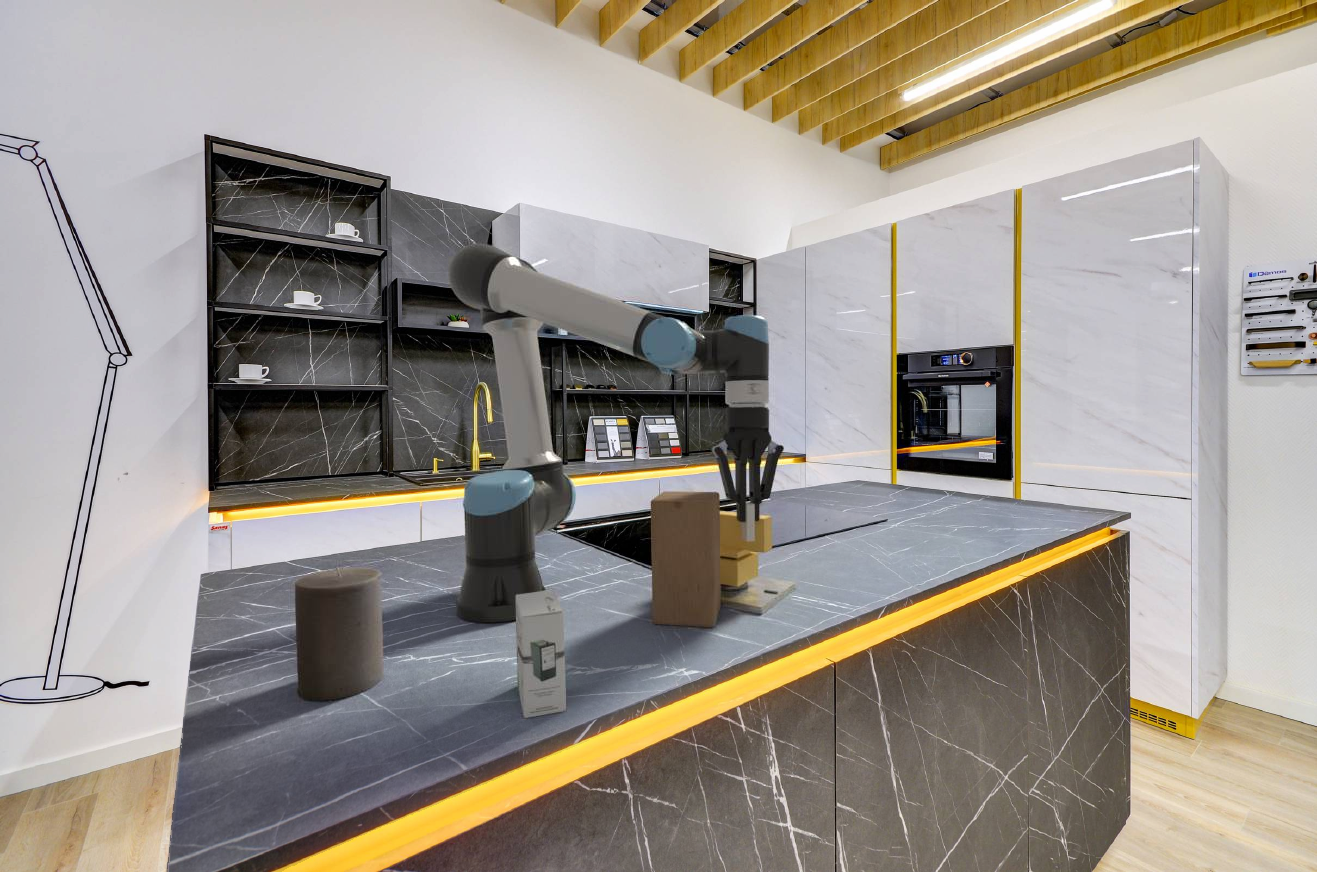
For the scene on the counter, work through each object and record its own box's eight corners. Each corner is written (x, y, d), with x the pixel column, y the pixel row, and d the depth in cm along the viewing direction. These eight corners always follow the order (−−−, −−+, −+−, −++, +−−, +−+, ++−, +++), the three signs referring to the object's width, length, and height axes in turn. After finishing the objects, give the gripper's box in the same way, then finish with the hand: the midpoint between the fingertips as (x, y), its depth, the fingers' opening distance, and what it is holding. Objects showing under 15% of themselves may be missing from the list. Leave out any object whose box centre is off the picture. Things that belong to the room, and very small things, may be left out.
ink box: (516, 685, 72) (513, 592, 71) (556, 678, 74) (553, 587, 73) (523, 720, 64) (520, 615, 63) (567, 711, 65) (565, 609, 65)
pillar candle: (290, 708, 67) (286, 581, 66) (304, 673, 76) (301, 561, 75) (383, 692, 71) (380, 572, 70) (385, 660, 80) (383, 553, 79)
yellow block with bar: (754, 593, 98) (753, 522, 98) (676, 578, 108) (675, 513, 107) (781, 577, 107) (780, 512, 106) (707, 564, 116) (706, 505, 116)
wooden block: (714, 628, 89) (713, 500, 88) (652, 624, 91) (649, 499, 90) (721, 607, 99) (719, 491, 98) (664, 603, 101) (662, 490, 100)
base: (660, 594, 106) (660, 541, 106) (703, 573, 120) (702, 525, 119) (761, 614, 95) (761, 554, 95) (796, 588, 109) (795, 535, 108)
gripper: (717, 406, 96) (719, 546, 97) (790, 405, 98) (791, 542, 99) (705, 406, 103) (706, 537, 104) (773, 405, 106) (774, 533, 107)
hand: (748, 539), depth 102 cm, fingers closed
